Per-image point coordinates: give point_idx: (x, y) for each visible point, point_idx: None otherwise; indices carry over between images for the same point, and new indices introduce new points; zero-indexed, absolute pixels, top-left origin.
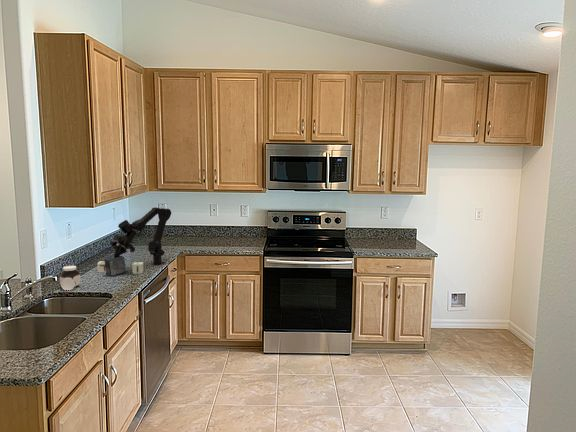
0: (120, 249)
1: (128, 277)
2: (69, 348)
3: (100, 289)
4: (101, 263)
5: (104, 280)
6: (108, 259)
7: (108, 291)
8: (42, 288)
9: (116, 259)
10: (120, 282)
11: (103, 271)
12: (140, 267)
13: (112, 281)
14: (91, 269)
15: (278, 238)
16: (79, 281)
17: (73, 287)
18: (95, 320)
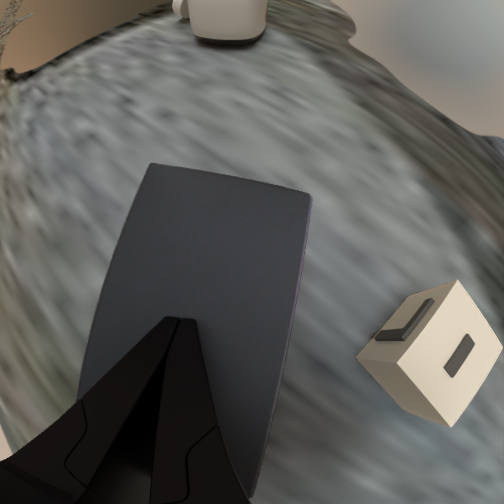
0: (5, 465)
1: (52, 304)
2: (11, 3)
3: (72, 75)
4: (435, 311)
5: (154, 159)
6: (206, 194)
7: (32, 85)
8: (318, 6)
9: (106, 293)
10: (35, 186)
11: (382, 329)
12: None
13: (87, 172)
14: (498, 326)
15: None
16: (190, 22)
17: (175, 12)
18: (4, 26)
